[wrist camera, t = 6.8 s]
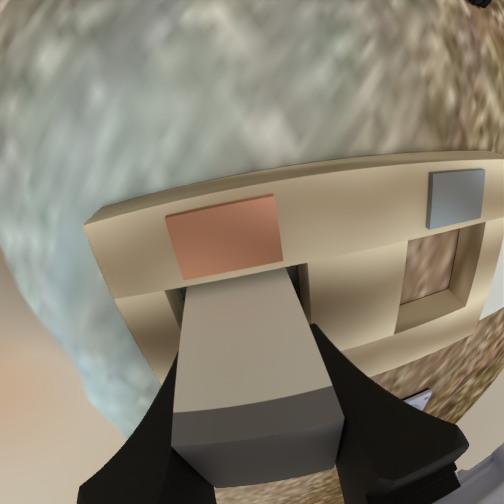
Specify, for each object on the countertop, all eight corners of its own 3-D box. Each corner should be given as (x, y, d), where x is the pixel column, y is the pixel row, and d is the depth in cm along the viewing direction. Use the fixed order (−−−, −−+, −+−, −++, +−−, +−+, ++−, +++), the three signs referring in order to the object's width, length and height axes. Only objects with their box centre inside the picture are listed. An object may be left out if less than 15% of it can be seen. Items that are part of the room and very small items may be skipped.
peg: (292, 336, 13) (333, 468, 7) (211, 351, 13) (215, 488, 7) (284, 265, 12) (344, 417, 5) (187, 284, 12) (171, 445, 5)
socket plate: (459, 316, 17) (476, 335, 15) (182, 389, 16) (181, 419, 14) (488, 150, 11) (517, 160, 9) (101, 207, 11) (79, 228, 9)
